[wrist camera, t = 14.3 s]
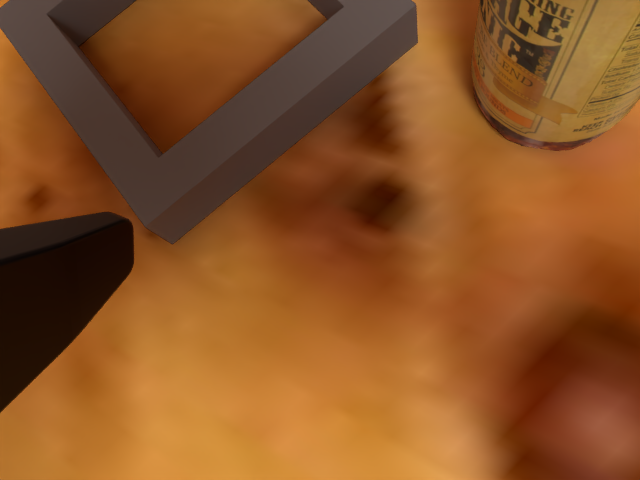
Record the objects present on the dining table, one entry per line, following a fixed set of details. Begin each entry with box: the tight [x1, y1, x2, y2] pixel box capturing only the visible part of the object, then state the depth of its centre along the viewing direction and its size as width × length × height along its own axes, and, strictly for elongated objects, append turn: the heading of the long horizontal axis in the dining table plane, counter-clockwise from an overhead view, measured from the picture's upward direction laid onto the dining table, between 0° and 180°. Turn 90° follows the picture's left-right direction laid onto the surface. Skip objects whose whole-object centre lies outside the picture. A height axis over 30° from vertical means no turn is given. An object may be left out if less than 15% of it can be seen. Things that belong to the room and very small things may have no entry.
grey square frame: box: [0, 0, 418, 244], centre depth 26 cm, size 14×14×2 cm
